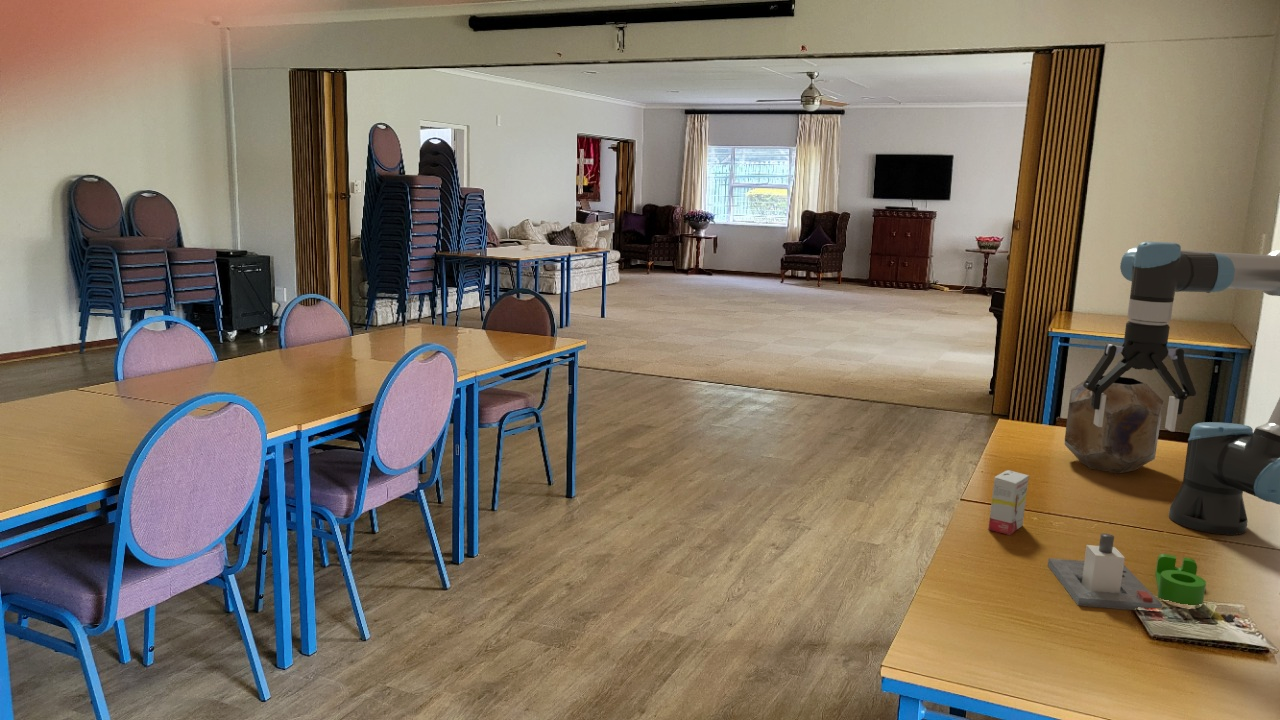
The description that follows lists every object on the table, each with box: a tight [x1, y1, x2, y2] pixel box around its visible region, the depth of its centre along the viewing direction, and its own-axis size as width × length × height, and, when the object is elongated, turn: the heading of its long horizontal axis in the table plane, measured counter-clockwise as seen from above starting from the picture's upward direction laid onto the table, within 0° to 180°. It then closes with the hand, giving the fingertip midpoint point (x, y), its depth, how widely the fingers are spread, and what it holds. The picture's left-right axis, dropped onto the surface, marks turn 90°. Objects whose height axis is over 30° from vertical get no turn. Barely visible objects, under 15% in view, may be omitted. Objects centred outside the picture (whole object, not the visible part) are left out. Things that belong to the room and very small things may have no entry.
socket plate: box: [1047, 557, 1163, 611], centre depth 175 cm, size 14×18×2 cm
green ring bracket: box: [1154, 553, 1207, 605], centre depth 174 cm, size 15×7×5 cm, turn 155°
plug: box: [1081, 533, 1126, 593], centre depth 173 cm, size 5×5×11 cm
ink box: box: [987, 469, 1030, 536], centre depth 204 cm, size 9×5×12 cm, turn 139°
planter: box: [1064, 374, 1164, 474], centre depth 252 cm, size 22×24×24 cm
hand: (1133, 427), depth 187 cm, fingers open, 13 cm apart
